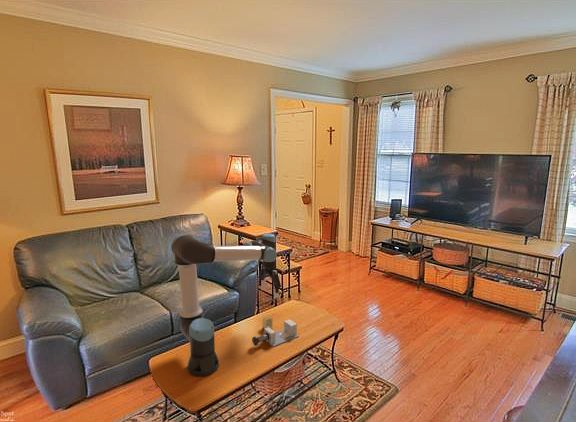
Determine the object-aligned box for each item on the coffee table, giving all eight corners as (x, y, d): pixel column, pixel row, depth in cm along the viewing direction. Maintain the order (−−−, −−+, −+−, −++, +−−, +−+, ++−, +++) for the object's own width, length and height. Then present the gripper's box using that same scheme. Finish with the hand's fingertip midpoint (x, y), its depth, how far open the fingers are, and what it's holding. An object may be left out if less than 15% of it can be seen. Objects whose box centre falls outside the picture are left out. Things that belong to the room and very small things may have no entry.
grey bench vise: (273, 347, 187) (273, 335, 186) (262, 338, 196) (262, 326, 195) (298, 336, 198) (298, 325, 196) (287, 328, 207) (287, 317, 205)
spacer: (266, 330, 204) (266, 319, 203) (262, 327, 207) (262, 317, 206) (272, 328, 206) (272, 317, 205) (268, 325, 210) (268, 315, 208)
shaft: (256, 347, 185) (256, 339, 184) (252, 343, 188) (252, 335, 187) (275, 339, 192) (275, 332, 191) (270, 336, 195) (270, 328, 194)
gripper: (287, 264, 193) (287, 299, 197) (263, 253, 213) (263, 285, 217) (276, 267, 189) (276, 303, 193) (252, 255, 208) (253, 288, 212)
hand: (269, 293), depth 205 cm, fingers open, 13 cm apart
